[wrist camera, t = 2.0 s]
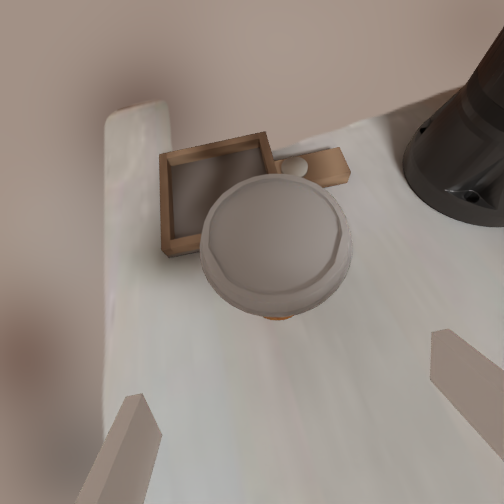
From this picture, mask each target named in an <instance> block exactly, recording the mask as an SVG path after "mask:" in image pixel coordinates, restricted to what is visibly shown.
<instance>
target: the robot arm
mask: <svg viewBox="0 0 504 504" xmlns="http://www.w3.org/2000/svg"><path fill="white" fill-rule="evenodd" d="M403 168H404V173H405V176H406V178H407V180H408V182H409V184H410V186H411V187H412V189H413V190H414V191H415V192H416V194H417V195H418V196H419V197H420V198H421V199H422V200H423V201H425V202H426V203H427V204H428V205H430V206H431V207H433V208H434V209H436V210H437V211H439V212H441V213H443V214H445V215H447V216H449V217H451V218H454V219H456V220H459V221H462V222H465V223H469V224H473V225H479V226H486V227H504V27H503V29H502V30H501V32H500V33H499V35H498V36H497V38H496V39H495V41H494V42H493V44H492V45H491V47H490V48H489V50H488V51H487V53H486V54H485V56H484V57H483V59H482V60H481V62H480V63H479V65H478V67H477V68H476V70H475V71H474V73H473V74H472V76H471V77H470V79H469V80H468V82H467V83H466V85H465V86H464V87H463V88H461V89H460V90H459V91H458V92H457V93H456V94H455V95H454V96H453V97H452V98H451V99H449V100H448V101H447V102H446V103H445V104H444V105H443V106H442V107H441V108H440V109H439V110H437V111H436V112H435V113H434V114H433V115H432V116H431V117H430V118H429V119H428V120H427V121H426V122H424V123H423V124H422V125H421V126H420V128H419V129H418V130H417V131H416V133H415V134H414V136H413V138H412V140H411V141H410V143H409V145H408V147H407V148H406V151H405V153H404V158H403ZM430 380H431V381H432V382H433V383H434V385H435V386H436V387H437V388H438V389H439V390H440V391H441V392H442V393H443V395H444V396H445V397H446V398H447V399H448V400H449V401H450V402H451V403H452V405H453V406H454V407H455V408H456V409H457V410H458V411H459V412H460V413H461V414H462V416H463V417H464V418H465V419H466V420H467V421H468V422H469V423H470V424H471V426H472V427H473V428H474V429H475V430H476V431H477V432H478V433H479V434H480V436H481V437H482V438H483V439H484V440H485V441H486V442H487V443H488V444H489V446H490V447H491V448H492V449H493V450H494V451H495V452H496V453H497V454H498V455H499V457H500V458H501V459H502V460H503V461H504V371H503V370H502V369H501V368H499V367H498V366H497V365H495V364H494V363H493V362H491V361H490V360H489V359H488V358H486V357H485V356H484V355H482V354H481V353H480V352H478V351H477V350H476V349H475V348H473V347H472V346H471V345H469V344H468V343H467V342H465V341H464V340H463V339H462V338H460V337H459V336H458V335H456V334H455V333H454V332H452V331H451V330H450V329H445V330H440V331H436V332H432V337H431V366H430ZM161 438H162V434H161V432H160V430H159V427H158V425H157V423H156V421H155V419H154V417H153V415H152V413H151V411H150V408H149V406H148V404H147V402H146V400H145V398H144V396H143V394H137V395H132V396H127V397H125V400H124V402H123V404H122V406H121V408H120V410H119V412H118V414H117V416H116V418H115V420H114V422H113V425H112V427H111V429H110V431H109V433H108V435H107V437H106V439H105V441H104V443H103V445H102V448H101V450H100V452H99V454H98V456H97V458H96V460H95V462H94V464H93V466H92V469H91V470H90V473H89V475H88V477H87V479H86V481H85V483H84V485H83V487H82V489H81V491H80V493H79V495H78V498H77V500H76V502H75V504H143V503H144V500H145V496H146V492H147V489H148V485H149V481H150V478H151V474H152V471H153V467H154V463H155V460H156V456H157V453H158V449H159V445H160V442H161Z"/></svg>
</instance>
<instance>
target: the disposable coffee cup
mask: <svg viewBox="0 0 504 504" xmlns="http://www.w3.org/2000/svg"><path fill="white" fill-rule="evenodd" d="M352 247H353V244H352V237H351V232H350V229H349V226H348V223H347V221H346V217H345V215H344V213H343V211H342V209H341V207H340V206H339V204H338V203H337V201H336V200H335V199H334V198H333V197H332V196H331V195H330V194H329V193H328V192H327V191H326V190H325V189H323V188H322V187H321V186H319V185H318V184H316V183H314V182H311V181H309V180H307V179H305V178H302V177H298V176H294V175H288V174H266V175H260V176H255V177H252V178H249V179H247V180H244V181H242V182H239V183H237V184H236V185H234V186H233V187H232V188H230V189H229V190H227V191H226V192H224V193H223V194H222V195H221V196H220V197H219V199H218V200H217V201H216V202H215V203H214V205H213V206H212V207H211V208H210V210H209V213H208V215H207V217H206V219H205V221H204V226H203V230H202V235H201V241H200V260H201V264H202V268H203V271H204V274H205V276H206V278H207V280H208V282H209V283H210V285H211V286H212V287H213V289H214V290H215V291H216V293H217V294H219V295H220V296H221V297H222V298H223V299H224V300H225V301H227V302H228V303H229V304H231V305H232V306H234V307H236V308H238V309H240V310H242V311H244V312H247V313H250V314H254V315H258V316H262V317H264V318H267V319H270V320H285V319H288V318H291V317H292V316H294V315H297V314H301V313H304V312H306V311H308V310H310V309H313V308H315V307H317V306H318V305H320V304H321V303H323V302H324V301H325V300H327V299H328V298H329V297H330V296H331V295H332V294H333V293H334V292H335V291H336V290H337V289H338V287H339V286H340V284H341V283H342V281H343V280H344V279H345V277H346V274H347V272H348V270H349V267H350V263H351V259H352Z"/></svg>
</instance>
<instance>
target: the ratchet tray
mask: <svg viewBox="0 0 504 504" xmlns="http://www.w3.org/2000/svg"><path fill="white" fill-rule="evenodd" d="M159 172H160V215H161V250H162V251H163V252H164V253H165V254H166V255H167V256H168V257H169V258H170V257H175V256H180V255H185V254H190V253H194V252H199V251H200V241H201V235H202V230H203V226H204V221H205V219H206V217H207V215H208V213H209V210H210V208H211V207H212V206H213V205H214V203H215V202H216V201H217V200H218V199H219V197H220V196H221V195H222V194H223V193H224V192H226V191H227V190H229V189H230V188H232V187H233V186H234V185H236V184H237V183H239V182H242V181H244V180H247V179H249V178H252V177H255V176H260V175H266V174H288V175H294V176H298V177H302V178H305V179H307V180H309V181H311V182H314V183H316V184H318V185H319V186H321V187H322V188H325V187H330V186H334V185H339V184H344V183H347V182H348V179H349V176H350V173H351V171H350V169H349V167H348V165H347V163H346V160H345V158H344V156H343V154H342V152H341V149H340V147H337V148H333V149H328V150H323V151H319V152H314V153H309V154H305V155H300V156H294V157H289V158H286V159H281V160H277V161H274V159H273V156H272V152H271V149H270V146H269V142H268V139H267V135H266V132H260V133H255V134H251V135H246V136H242V137H237V138H233V139H228V140H224V141H219V142H214V143H209V144H205V145H201V146H196V147H191V148H186V149H182V150H177V151H173V152H168V153H163V154H159Z"/></svg>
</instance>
